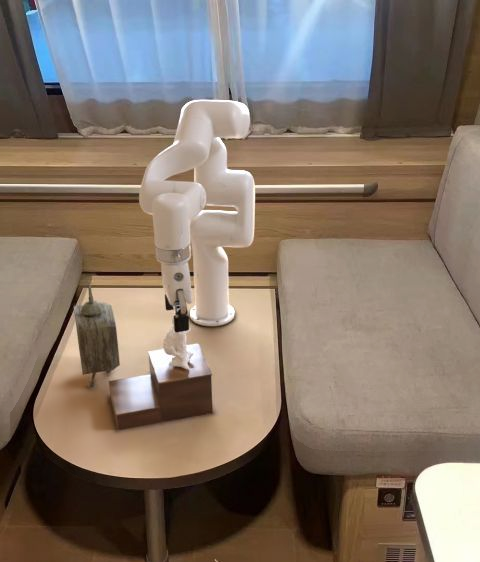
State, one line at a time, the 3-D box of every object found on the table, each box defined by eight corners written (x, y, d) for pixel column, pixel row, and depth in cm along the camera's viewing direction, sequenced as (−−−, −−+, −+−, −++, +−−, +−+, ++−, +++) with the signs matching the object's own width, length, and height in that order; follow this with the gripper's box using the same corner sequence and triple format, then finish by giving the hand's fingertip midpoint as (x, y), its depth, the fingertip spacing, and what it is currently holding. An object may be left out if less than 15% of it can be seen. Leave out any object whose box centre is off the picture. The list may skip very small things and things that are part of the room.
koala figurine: (197, 370, 170) (196, 322, 165) (168, 374, 169) (165, 325, 164) (190, 353, 178) (189, 306, 173) (162, 356, 176) (160, 309, 172)
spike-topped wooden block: (80, 360, 195) (69, 274, 184) (115, 355, 197) (106, 269, 186) (85, 392, 183) (73, 302, 171) (122, 387, 185) (113, 297, 173)
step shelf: (110, 396, 181) (106, 357, 176) (199, 381, 186) (198, 343, 181) (118, 430, 170) (113, 390, 165) (213, 413, 174) (212, 373, 169)
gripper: (199, 266, 154) (202, 337, 162) (181, 232, 169) (185, 298, 177) (163, 271, 153) (168, 342, 161) (148, 236, 167) (153, 303, 176)
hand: (177, 319), depth 169 cm, fingers open, 9 cm apart
